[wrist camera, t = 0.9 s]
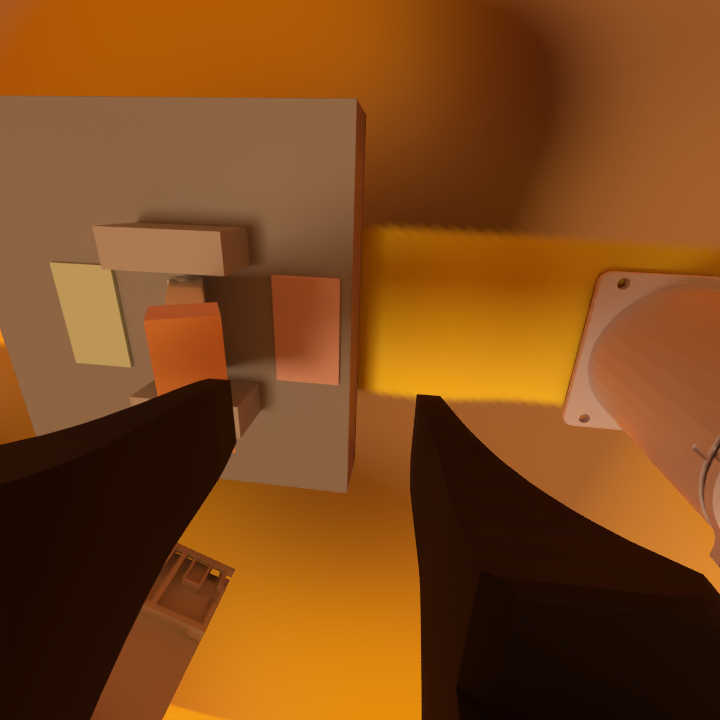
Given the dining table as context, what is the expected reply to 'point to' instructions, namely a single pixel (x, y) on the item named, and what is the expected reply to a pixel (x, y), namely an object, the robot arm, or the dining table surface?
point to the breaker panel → (186, 184)
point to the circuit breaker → (163, 638)
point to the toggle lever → (185, 336)
